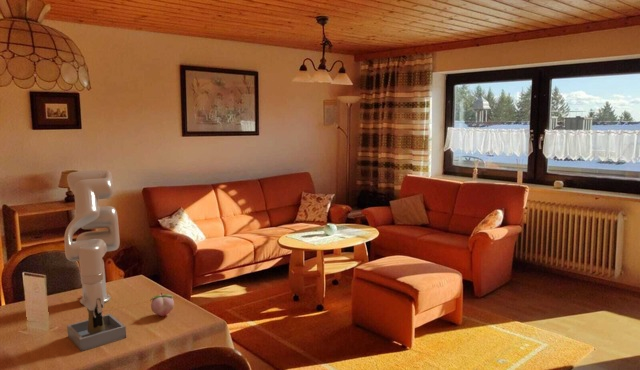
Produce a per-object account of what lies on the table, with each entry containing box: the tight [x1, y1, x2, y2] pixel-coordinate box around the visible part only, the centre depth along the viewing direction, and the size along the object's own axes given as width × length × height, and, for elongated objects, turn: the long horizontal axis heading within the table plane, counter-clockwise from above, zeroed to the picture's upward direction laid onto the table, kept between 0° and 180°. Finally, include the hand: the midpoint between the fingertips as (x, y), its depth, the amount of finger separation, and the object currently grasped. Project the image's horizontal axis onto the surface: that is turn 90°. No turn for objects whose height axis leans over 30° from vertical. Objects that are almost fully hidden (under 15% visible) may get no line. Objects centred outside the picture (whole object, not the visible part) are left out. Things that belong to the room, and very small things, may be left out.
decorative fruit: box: [150, 292, 175, 317], centre depth 208 cm, size 9×8×10 cm
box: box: [66, 313, 127, 352], centre depth 189 cm, size 16×16×4 cm
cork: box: [86, 307, 105, 333], centre depth 189 cm, size 6×6×11 cm
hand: (95, 324), depth 189 cm, fingers closed on cork, 4 cm apart
